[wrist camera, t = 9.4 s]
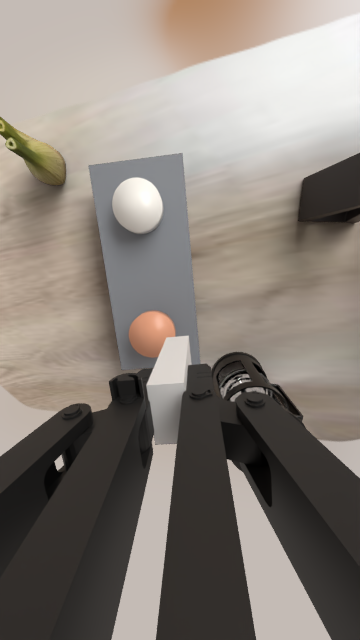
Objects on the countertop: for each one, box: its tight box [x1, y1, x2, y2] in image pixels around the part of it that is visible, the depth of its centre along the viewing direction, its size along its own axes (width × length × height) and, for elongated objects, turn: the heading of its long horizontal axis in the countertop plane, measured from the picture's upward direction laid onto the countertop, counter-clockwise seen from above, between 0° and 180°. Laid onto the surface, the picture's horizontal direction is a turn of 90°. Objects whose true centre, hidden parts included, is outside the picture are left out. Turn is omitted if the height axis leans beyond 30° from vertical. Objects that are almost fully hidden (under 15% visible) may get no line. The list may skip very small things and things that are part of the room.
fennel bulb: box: [0, 117, 66, 185], centre depth 30 cm, size 6×5×12 cm
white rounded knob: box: [112, 177, 164, 234], centre depth 31 cm, size 6×6×8 cm
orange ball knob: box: [129, 310, 176, 358], centre depth 34 cm, size 6×6×8 cm
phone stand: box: [298, 153, 360, 223], centre depth 29 cm, size 9×6×12 cm, turn 87°
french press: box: [212, 352, 307, 472], centre depth 30 cm, size 12×9×23 cm
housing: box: [89, 153, 200, 370], centre depth 35 cm, size 12×28×7 cm, turn 6°
